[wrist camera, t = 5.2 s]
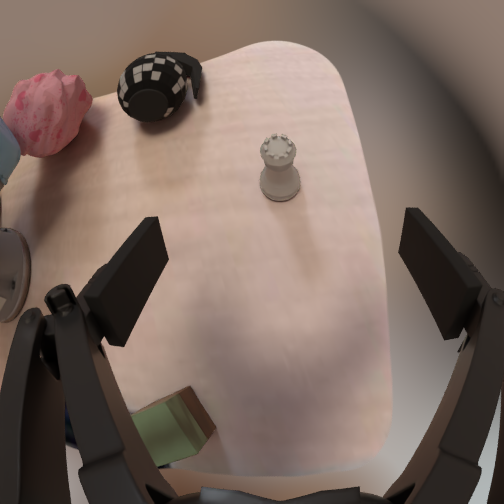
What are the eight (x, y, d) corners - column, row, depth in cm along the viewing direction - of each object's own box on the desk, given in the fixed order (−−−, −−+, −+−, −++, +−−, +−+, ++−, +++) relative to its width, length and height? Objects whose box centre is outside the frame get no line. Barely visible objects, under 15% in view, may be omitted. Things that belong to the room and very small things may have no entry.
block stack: (151, 403, 28) (120, 420, 21) (190, 385, 28) (164, 401, 21) (176, 443, 27) (151, 468, 20) (216, 427, 27) (198, 453, 20)
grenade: (196, 137, 36) (196, 82, 42) (208, 77, 28) (206, 34, 34) (112, 135, 33) (130, 80, 39) (109, 75, 24) (133, 31, 31)
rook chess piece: (259, 168, 32) (251, 127, 25) (298, 165, 32) (300, 123, 24) (261, 204, 31) (252, 168, 24) (302, 201, 31) (306, 164, 23)
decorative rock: (17, 63, 27) (96, 52, 35) (19, 133, 37) (90, 121, 45) (-17, 97, 17) (96, 77, 25) (-1, 192, 27) (93, 174, 35)
